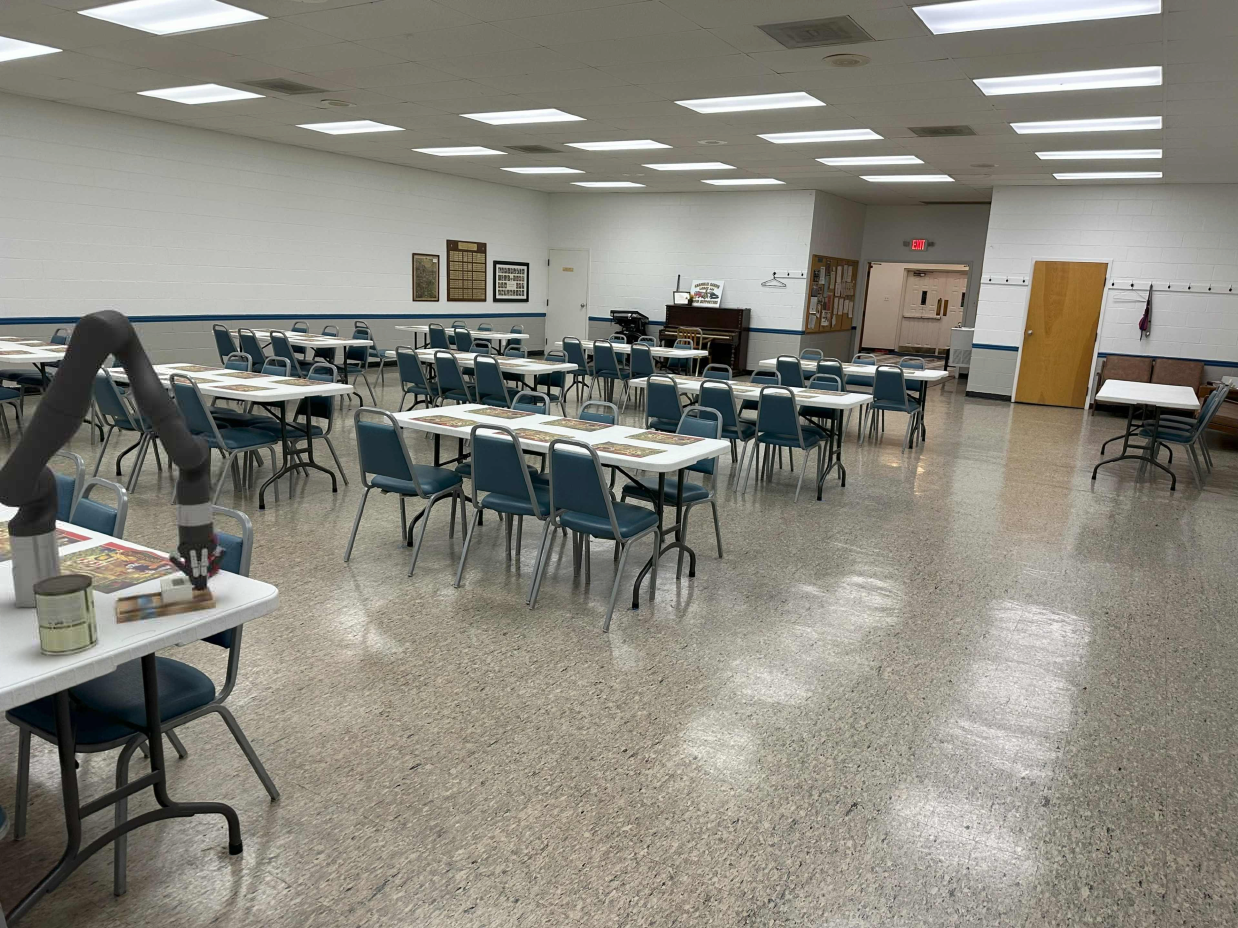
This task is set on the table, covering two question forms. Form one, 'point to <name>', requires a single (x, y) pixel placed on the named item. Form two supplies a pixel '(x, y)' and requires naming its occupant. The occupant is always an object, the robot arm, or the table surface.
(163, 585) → the block
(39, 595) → the coffee can
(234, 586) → the table surface
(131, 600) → the board
